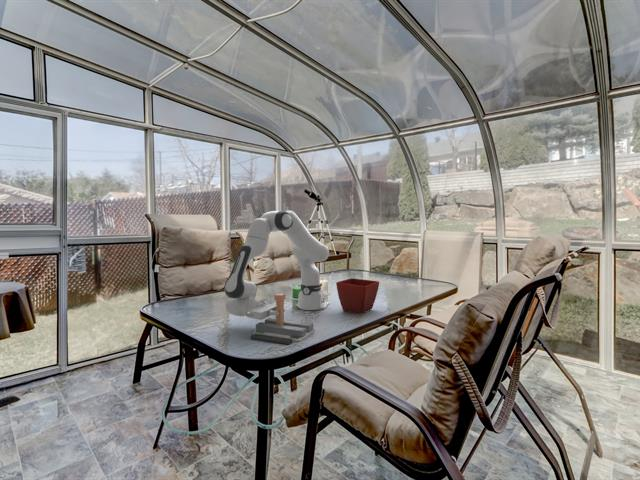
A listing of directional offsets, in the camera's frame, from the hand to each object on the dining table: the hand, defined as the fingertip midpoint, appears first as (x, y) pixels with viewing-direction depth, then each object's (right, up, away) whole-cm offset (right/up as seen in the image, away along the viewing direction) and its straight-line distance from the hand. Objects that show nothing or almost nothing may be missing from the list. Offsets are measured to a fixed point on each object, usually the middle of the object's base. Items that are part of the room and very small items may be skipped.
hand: (281, 312), depth 162 cm
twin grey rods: (-3, -10, -11) cm, 15 cm away
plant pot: (+40, -8, +40) cm, 57 cm away
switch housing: (+1, -10, 0) cm, 10 cm away
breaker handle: (-1, -8, +1) cm, 8 cm away
